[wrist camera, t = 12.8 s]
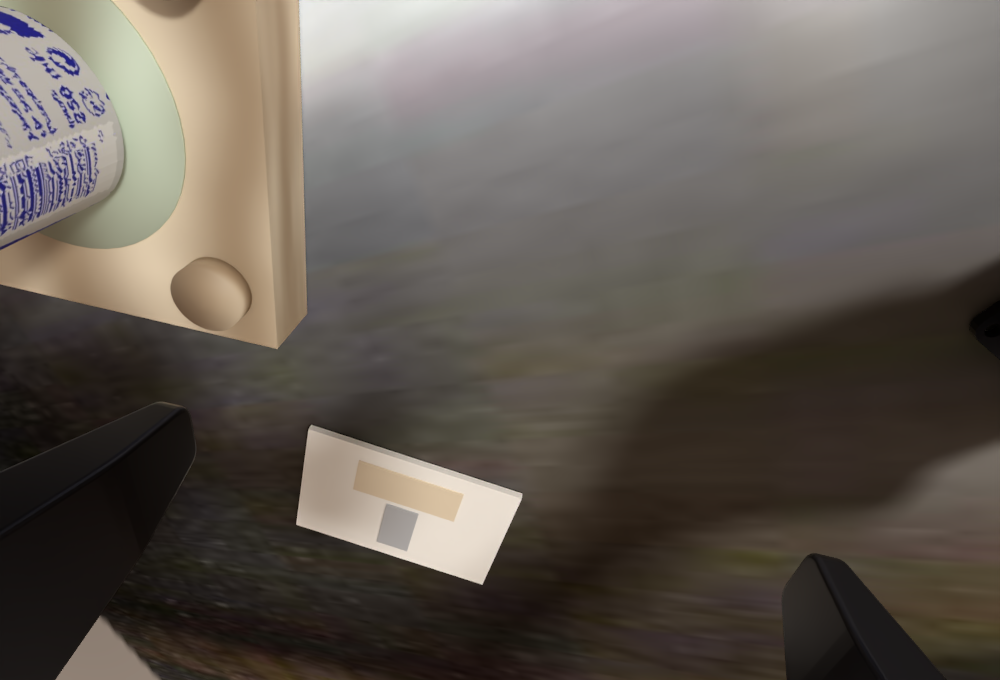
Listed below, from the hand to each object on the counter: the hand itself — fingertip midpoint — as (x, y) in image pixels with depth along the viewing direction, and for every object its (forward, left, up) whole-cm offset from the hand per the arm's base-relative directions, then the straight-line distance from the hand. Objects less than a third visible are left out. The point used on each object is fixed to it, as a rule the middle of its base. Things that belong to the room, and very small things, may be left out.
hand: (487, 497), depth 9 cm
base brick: (+14, +7, -13) cm, 20 cm away
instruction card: (-4, +17, -13) cm, 22 cm away
